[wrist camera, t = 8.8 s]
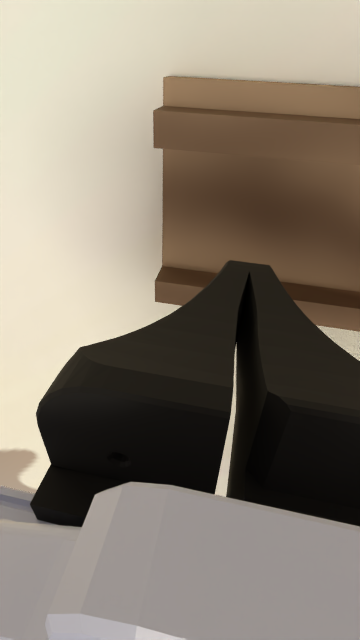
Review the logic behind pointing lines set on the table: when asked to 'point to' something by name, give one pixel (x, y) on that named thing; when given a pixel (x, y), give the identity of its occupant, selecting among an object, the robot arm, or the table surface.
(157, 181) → the table surface
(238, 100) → the chute
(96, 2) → the table surface
